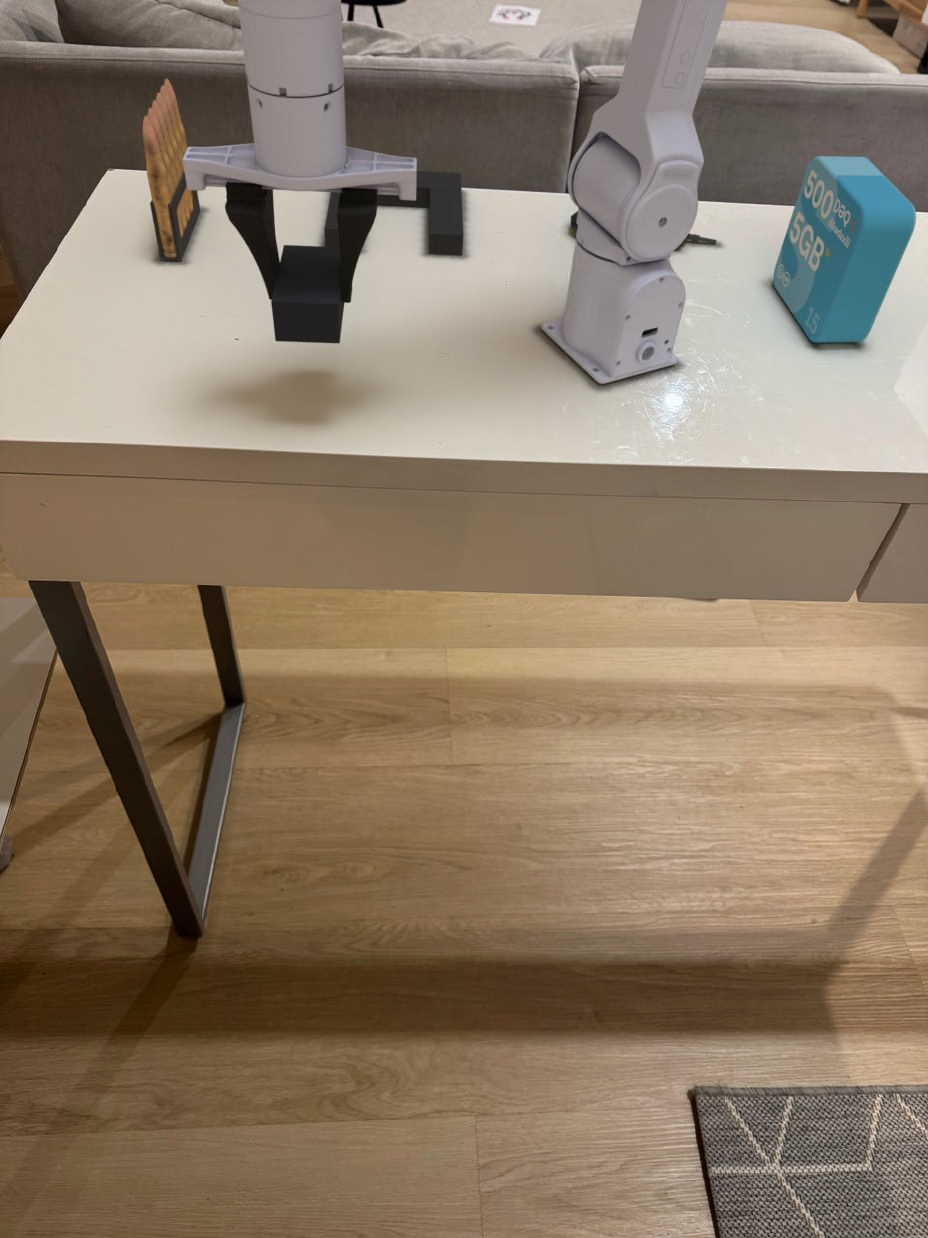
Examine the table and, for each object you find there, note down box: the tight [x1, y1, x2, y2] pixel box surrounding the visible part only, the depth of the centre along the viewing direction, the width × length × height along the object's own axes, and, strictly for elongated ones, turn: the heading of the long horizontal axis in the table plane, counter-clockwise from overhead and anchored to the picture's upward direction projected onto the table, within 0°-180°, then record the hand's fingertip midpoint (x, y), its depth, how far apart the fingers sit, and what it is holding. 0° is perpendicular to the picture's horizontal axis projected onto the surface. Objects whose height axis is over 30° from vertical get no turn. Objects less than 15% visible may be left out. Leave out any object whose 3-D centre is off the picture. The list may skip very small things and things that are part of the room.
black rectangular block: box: [270, 244, 345, 345], centre depth 64 cm, size 8×4×3 cm, turn 1°
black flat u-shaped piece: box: [324, 170, 464, 256], centre depth 90 cm, size 14×13×2 cm
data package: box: [773, 155, 917, 343], centre depth 78 cm, size 12×4×12 cm, turn 6°
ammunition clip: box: [142, 78, 201, 262], centre depth 82 cm, size 11×2×12 cm, turn 1°
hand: (311, 294), depth 64 cm, fingers closed on black rectangular block, 4 cm apart
